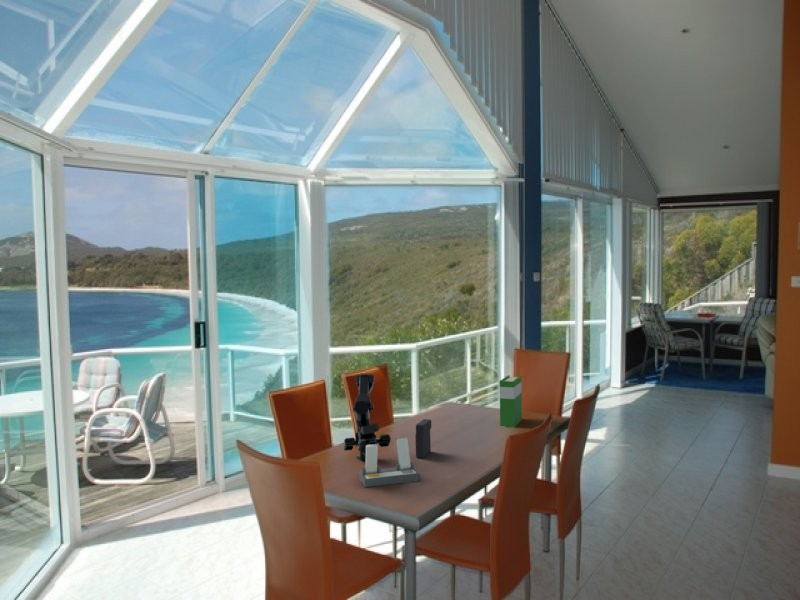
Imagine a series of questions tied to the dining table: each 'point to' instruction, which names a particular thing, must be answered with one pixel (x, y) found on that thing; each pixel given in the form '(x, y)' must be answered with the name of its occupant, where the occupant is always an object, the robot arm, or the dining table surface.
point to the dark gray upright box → (423, 438)
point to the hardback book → (510, 401)
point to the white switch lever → (371, 458)
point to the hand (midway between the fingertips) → (370, 461)
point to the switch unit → (388, 476)
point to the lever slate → (403, 453)
